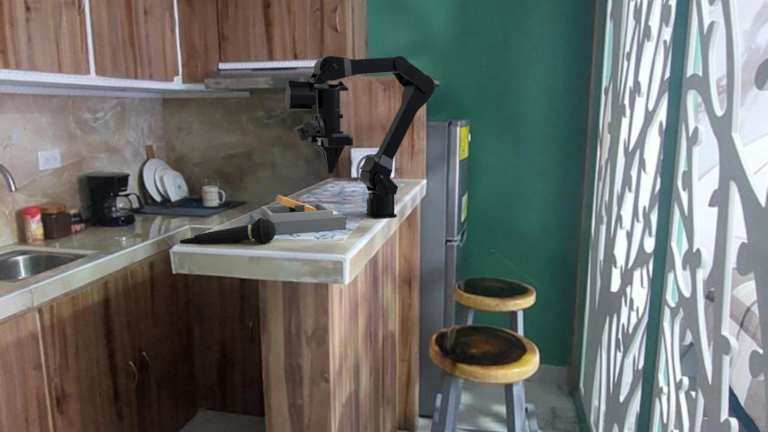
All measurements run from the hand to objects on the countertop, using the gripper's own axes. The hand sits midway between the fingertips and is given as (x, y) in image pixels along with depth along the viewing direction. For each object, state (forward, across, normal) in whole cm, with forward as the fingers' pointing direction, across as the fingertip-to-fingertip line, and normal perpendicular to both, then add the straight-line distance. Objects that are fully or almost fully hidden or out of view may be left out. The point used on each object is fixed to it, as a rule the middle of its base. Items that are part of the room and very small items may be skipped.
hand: (330, 173), depth 131 cm
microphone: (+12, +14, -27) cm, 33 cm away
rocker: (+7, +5, -10) cm, 13 cm away
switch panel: (+12, +5, -10) cm, 16 cm away
